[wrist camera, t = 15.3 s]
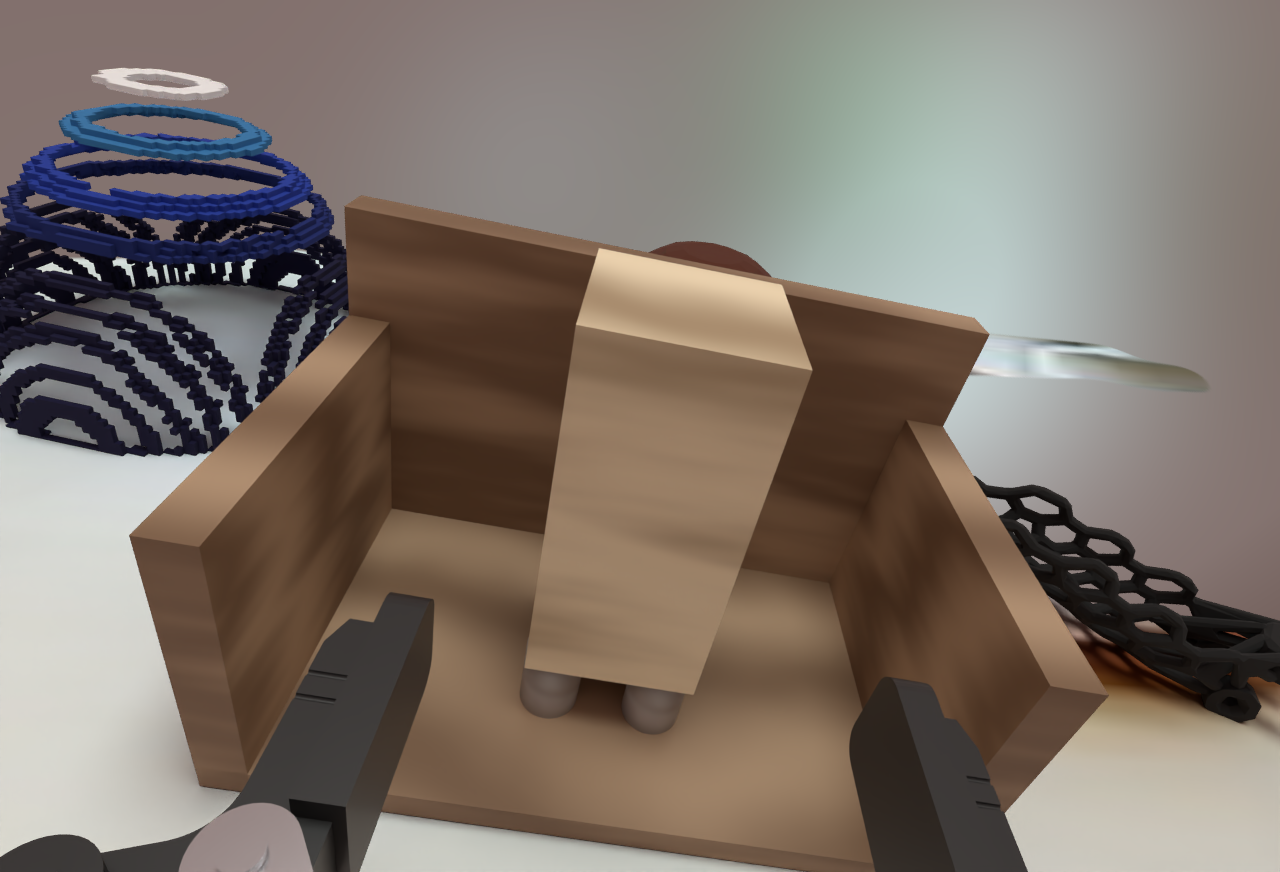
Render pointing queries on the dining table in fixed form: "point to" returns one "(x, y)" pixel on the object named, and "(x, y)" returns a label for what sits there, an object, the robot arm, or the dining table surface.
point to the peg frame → (512, 546)
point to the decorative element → (1146, 608)
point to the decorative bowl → (157, 264)
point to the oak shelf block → (661, 467)
